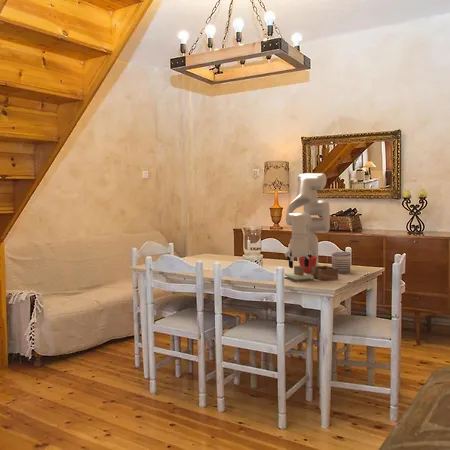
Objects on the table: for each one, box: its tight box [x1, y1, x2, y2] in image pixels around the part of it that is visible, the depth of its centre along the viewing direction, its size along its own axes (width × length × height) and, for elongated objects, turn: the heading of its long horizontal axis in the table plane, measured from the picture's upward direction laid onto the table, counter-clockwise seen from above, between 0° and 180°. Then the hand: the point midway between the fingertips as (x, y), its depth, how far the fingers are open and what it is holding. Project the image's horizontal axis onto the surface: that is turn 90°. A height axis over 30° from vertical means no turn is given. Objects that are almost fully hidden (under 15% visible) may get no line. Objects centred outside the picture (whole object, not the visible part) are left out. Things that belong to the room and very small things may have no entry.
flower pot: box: [297, 256, 317, 275], centre depth 308 cm, size 11×11×10 cm
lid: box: [284, 265, 314, 281], centre depth 288 cm, size 13×11×7 cm
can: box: [331, 251, 352, 275], centre depth 307 cm, size 11×11×12 cm
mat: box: [284, 276, 316, 283], centre depth 288 cm, size 14×12×1 cm
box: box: [310, 265, 339, 282], centre depth 289 cm, size 12×10×6 cm
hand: (298, 267), depth 288 cm, fingers open, 9 cm apart
